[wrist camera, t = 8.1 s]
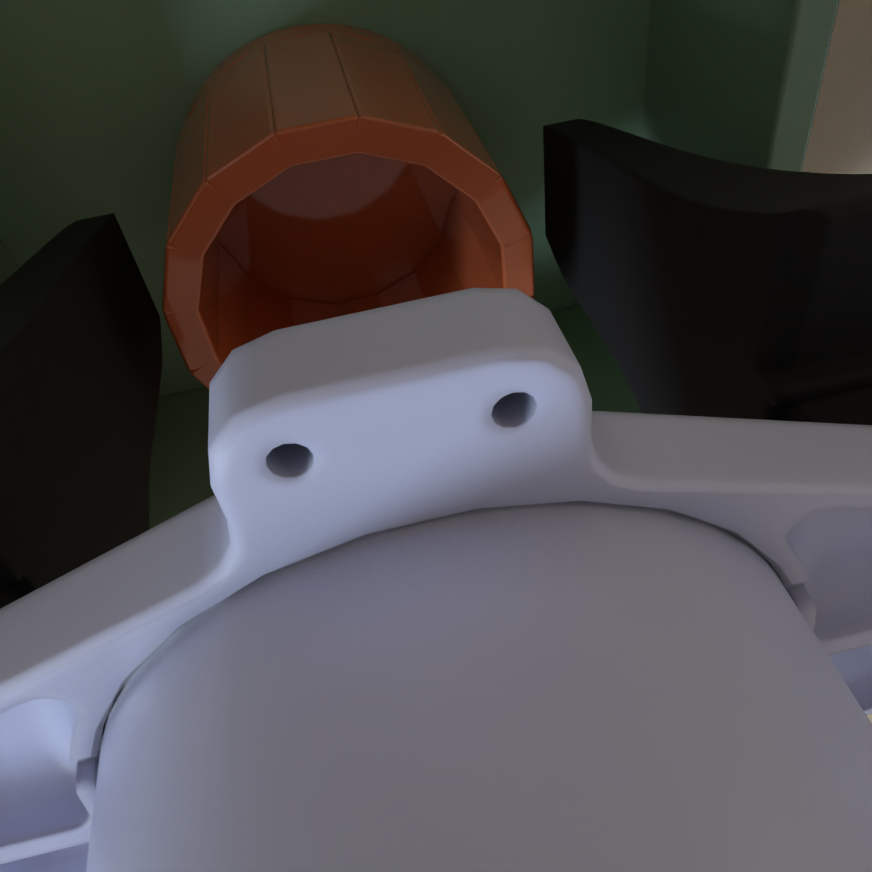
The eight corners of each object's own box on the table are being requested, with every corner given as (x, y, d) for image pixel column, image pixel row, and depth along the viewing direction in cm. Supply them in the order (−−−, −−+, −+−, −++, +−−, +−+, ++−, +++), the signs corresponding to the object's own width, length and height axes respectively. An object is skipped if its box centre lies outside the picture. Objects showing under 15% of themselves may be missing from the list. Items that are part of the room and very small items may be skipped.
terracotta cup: (456, -6, 13) (528, 80, 10) (481, 275, 16) (539, 401, 13) (127, 56, 12) (96, 166, 9) (229, 329, 16) (231, 470, 13)
